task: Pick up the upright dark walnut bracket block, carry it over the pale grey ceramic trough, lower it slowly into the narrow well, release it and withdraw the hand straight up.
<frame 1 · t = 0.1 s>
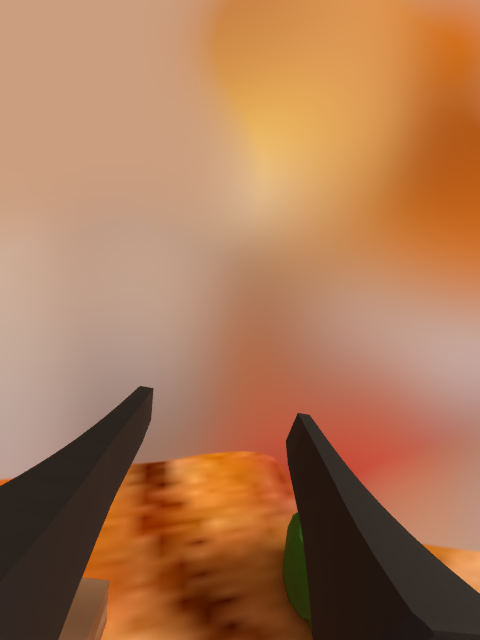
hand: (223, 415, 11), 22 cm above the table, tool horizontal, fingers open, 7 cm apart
bell pepper: (312, 592, 22), on the table
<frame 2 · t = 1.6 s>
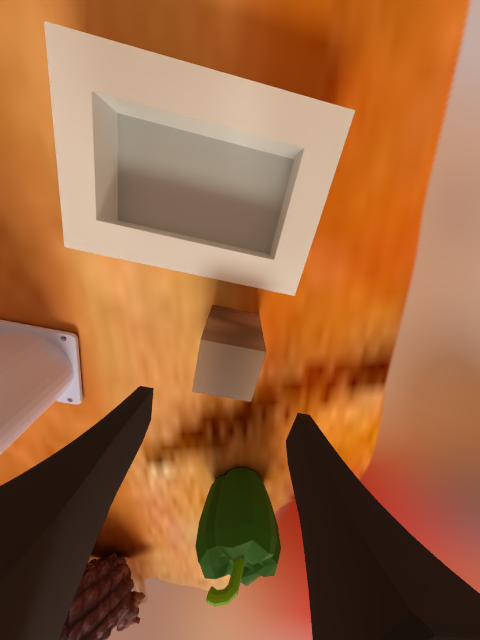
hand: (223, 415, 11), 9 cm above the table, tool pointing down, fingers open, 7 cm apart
bell pepper: (239, 478, 28), on the table
well trough: (202, 191, 16), on the table
pine cone: (103, 550, 36), on the table
bracket block: (231, 330, 20), on the table
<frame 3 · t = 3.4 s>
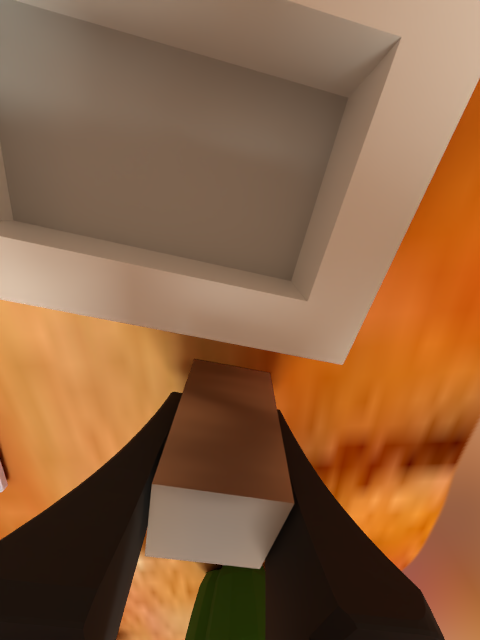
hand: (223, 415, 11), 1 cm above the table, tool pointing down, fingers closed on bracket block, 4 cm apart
bell pepper: (238, 568, 21), on the table
well trough: (168, 167, 8), on the table
bracket block: (225, 395, 13), on the table, touching gripper
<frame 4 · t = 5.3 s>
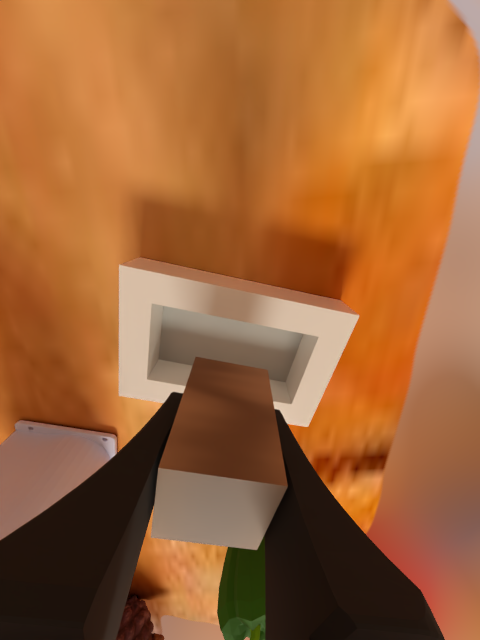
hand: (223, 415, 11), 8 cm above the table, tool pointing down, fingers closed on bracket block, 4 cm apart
bell pepper: (252, 537, 31), on the table
well trough: (230, 338, 19), on the table
pine cone: (124, 593, 39), on the table
bracket block: (225, 391, 13), point 6 cm above the table, touching gripper
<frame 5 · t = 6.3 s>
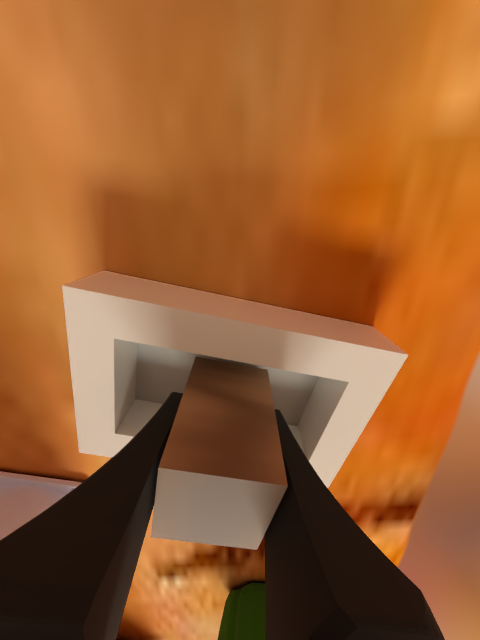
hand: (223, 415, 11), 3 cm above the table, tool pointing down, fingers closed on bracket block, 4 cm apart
bell pepper: (254, 587, 27), on the table
well trough: (227, 373, 14), on the table
bracket block: (225, 391, 13), point 1 cm above the table, touching gripper
when the fingers open (3 cm above the table, at t = 7.1 s): bracket block stays where it is, resting on well trough.
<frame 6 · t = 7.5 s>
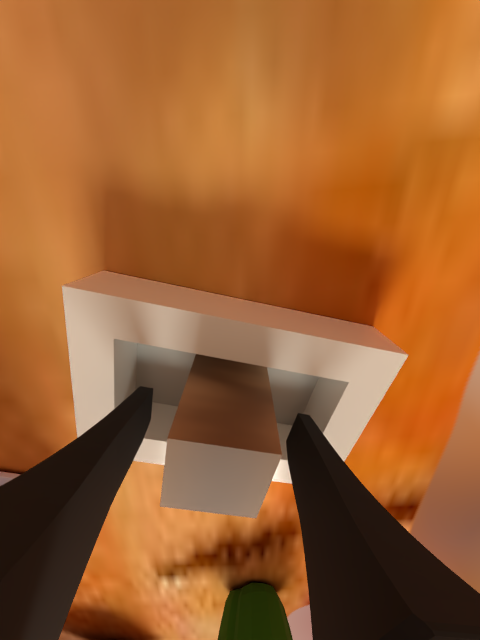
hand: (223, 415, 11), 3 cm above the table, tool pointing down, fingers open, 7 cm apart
bell pepper: (253, 587, 27), on the table
well trough: (227, 373, 14), on the table
bracket block: (226, 380, 14), resting on well trough
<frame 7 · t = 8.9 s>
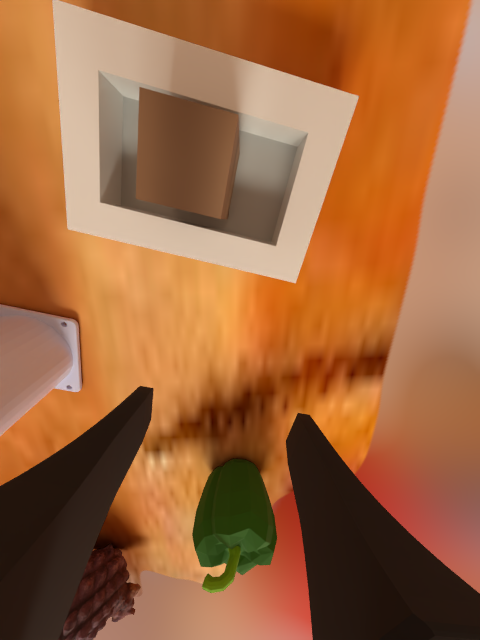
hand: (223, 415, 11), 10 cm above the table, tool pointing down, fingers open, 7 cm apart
bell pepper: (236, 469, 28), on the table
well trough: (206, 178, 16), on the table
pine cone: (99, 541, 36), on the table
bracket block: (204, 180, 15), resting on well trough
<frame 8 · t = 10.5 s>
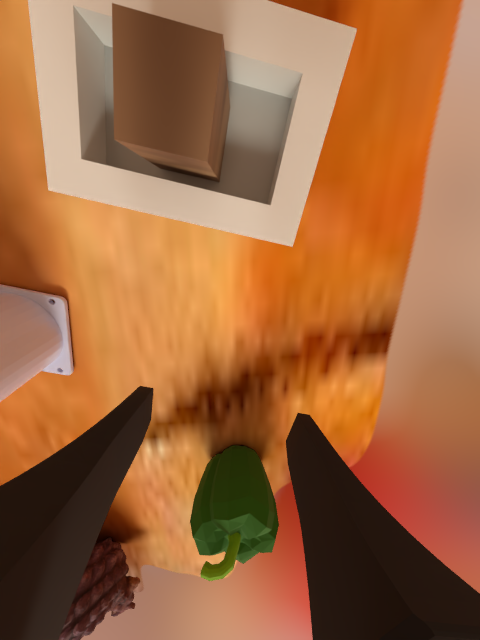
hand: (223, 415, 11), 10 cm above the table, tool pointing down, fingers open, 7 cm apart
bell pepper: (236, 457, 28), on the table
well trough: (195, 137, 15), on the table
pine cone: (98, 535, 35), on the table
bracket block: (193, 139, 15), resting on well trough
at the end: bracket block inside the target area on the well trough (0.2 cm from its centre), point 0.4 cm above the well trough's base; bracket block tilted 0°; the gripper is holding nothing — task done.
